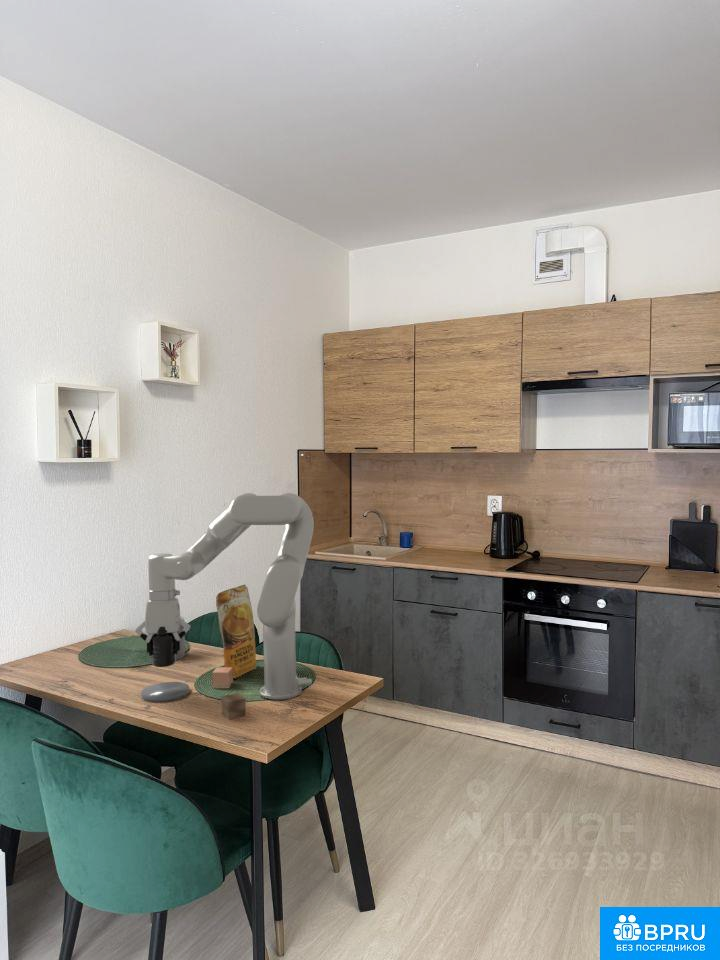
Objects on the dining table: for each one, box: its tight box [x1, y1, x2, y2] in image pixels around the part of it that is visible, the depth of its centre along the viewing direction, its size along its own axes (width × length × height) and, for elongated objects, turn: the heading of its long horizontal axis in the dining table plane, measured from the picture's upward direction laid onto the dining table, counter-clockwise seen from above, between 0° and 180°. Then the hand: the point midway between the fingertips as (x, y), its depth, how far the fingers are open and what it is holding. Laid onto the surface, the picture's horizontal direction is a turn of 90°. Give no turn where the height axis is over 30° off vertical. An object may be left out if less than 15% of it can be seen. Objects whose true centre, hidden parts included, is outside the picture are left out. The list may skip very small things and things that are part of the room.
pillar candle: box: [175, 615, 186, 661], centre depth 242 cm, size 10×10×15 cm
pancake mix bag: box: [215, 584, 257, 679], centre depth 223 cm, size 7×19×28 cm, turn 151°
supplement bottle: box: [151, 627, 177, 668], centre depth 205 cm, size 7×7×12 cm
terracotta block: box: [211, 666, 234, 688], centre depth 212 cm, size 5×5×5 cm
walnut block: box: [221, 692, 247, 721], centre depth 188 cm, size 5×5×5 cm
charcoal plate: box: [140, 681, 190, 703], centre depth 205 cm, size 14×14×1 cm
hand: (163, 653), depth 205 cm, fingers closed on supplement bottle, 6 cm apart
